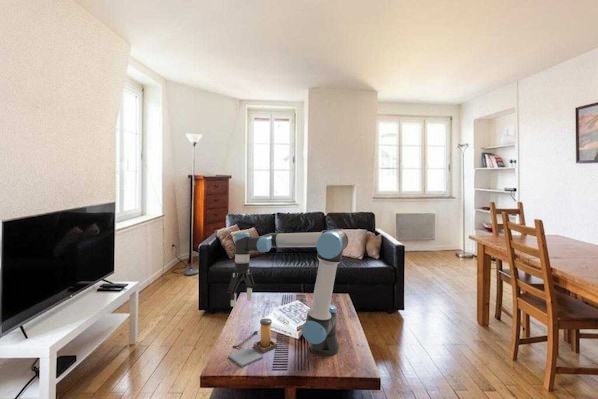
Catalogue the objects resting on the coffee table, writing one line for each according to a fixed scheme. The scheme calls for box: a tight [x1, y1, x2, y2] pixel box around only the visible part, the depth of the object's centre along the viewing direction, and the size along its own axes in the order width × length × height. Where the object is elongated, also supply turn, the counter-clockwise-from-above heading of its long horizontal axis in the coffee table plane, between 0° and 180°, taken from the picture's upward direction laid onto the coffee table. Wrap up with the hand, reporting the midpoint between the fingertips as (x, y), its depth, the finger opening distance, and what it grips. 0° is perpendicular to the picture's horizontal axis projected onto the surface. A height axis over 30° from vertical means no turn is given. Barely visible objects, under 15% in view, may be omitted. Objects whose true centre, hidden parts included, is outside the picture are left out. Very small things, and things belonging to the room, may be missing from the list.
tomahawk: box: [232, 330, 259, 351], centre depth 178 cm, size 21×7×1 cm, turn 152°
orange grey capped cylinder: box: [259, 318, 272, 349], centre depth 171 cm, size 6×6×14 cm
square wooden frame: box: [253, 340, 278, 353], centre depth 171 cm, size 9×9×2 cm
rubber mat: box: [228, 347, 264, 368], centre depth 160 cm, size 12×12×1 cm
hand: (241, 303), depth 170 cm, fingers open, 13 cm apart
